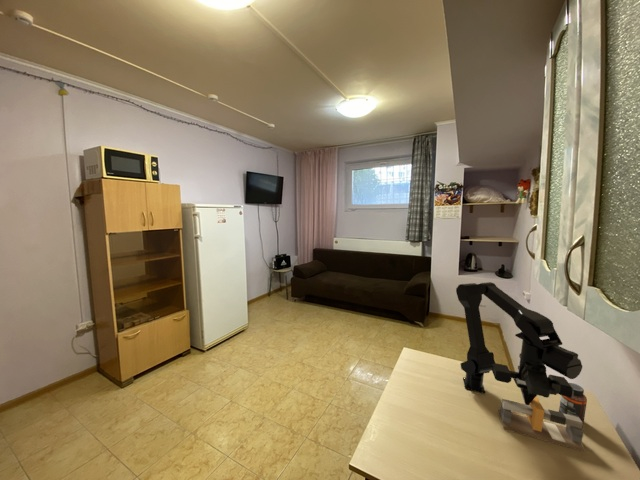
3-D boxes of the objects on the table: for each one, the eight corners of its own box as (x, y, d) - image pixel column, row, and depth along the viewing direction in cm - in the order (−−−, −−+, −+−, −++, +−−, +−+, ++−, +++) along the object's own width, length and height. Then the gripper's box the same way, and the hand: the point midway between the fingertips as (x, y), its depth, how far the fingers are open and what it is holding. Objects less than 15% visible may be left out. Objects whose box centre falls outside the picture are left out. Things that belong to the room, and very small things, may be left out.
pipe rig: (498, 412, 87) (500, 393, 86) (571, 431, 80) (574, 410, 79) (503, 429, 80) (506, 408, 79) (583, 451, 73) (587, 429, 72)
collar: (524, 412, 84) (527, 392, 83) (532, 414, 83) (535, 394, 82) (533, 429, 77) (536, 408, 76) (541, 431, 77) (544, 410, 76)
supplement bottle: (578, 414, 86) (583, 383, 85) (587, 428, 81) (593, 395, 79) (555, 408, 89) (559, 378, 87) (562, 421, 83) (567, 389, 82)
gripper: (502, 364, 74) (497, 413, 76) (588, 382, 67) (579, 435, 69) (493, 345, 84) (489, 389, 87) (567, 359, 77) (560, 406, 79)
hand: (526, 404), depth 80 cm, fingers closed
